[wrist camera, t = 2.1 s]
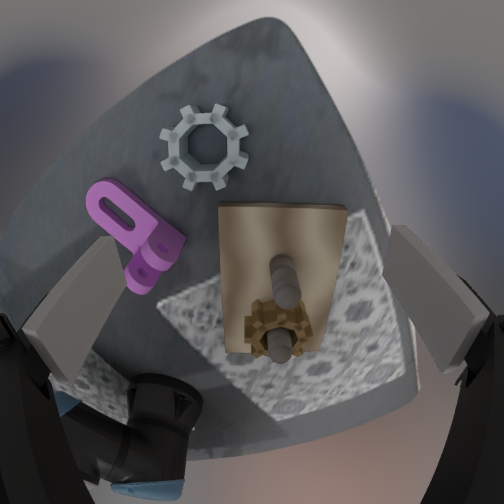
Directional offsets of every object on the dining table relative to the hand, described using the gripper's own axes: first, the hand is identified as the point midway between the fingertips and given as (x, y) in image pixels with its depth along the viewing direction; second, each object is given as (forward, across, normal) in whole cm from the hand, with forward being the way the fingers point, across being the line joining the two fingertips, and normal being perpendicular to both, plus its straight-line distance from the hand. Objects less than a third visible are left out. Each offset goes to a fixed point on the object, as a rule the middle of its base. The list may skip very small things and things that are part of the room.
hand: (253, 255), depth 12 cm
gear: (+18, -4, +3) cm, 19 cm away
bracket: (+18, -14, -5) cm, 24 cm away
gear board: (+18, +3, -15) cm, 23 cm away
